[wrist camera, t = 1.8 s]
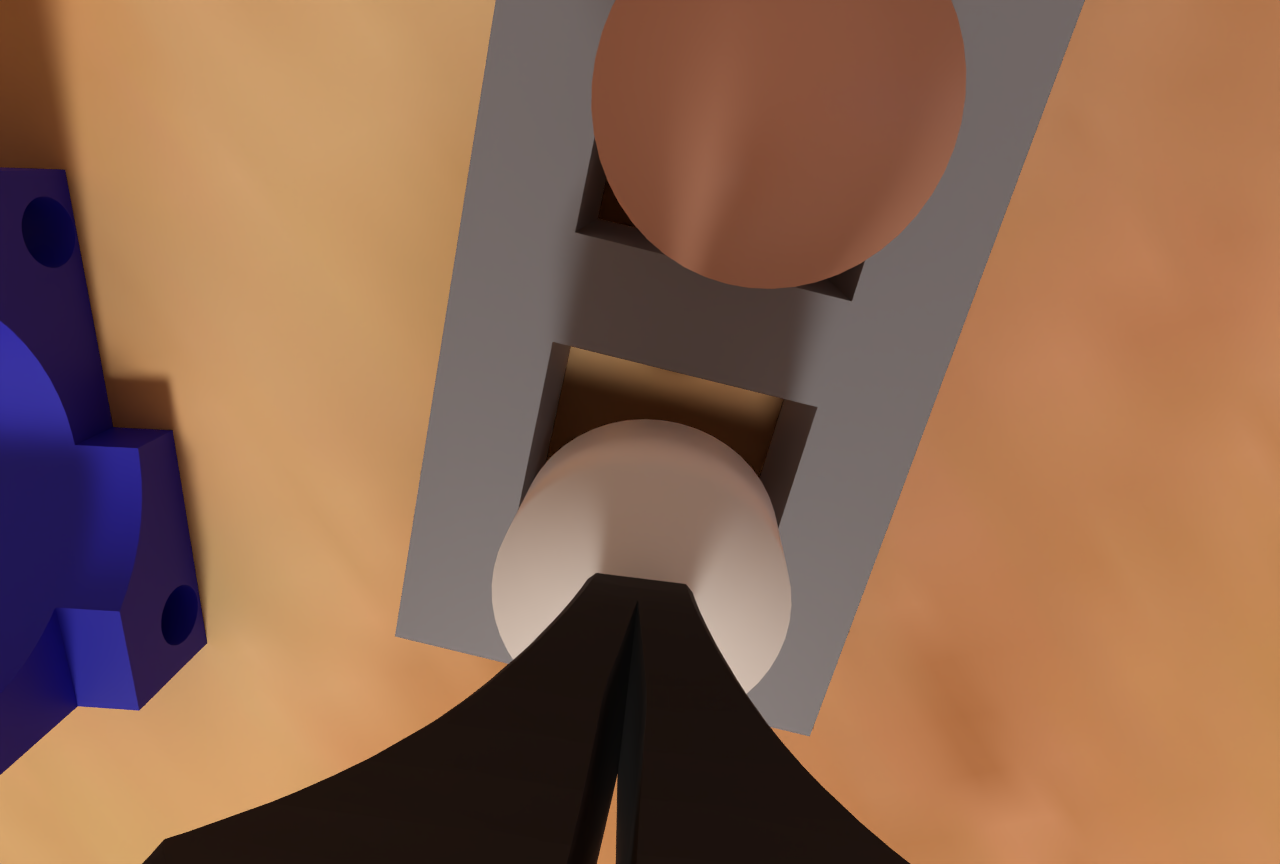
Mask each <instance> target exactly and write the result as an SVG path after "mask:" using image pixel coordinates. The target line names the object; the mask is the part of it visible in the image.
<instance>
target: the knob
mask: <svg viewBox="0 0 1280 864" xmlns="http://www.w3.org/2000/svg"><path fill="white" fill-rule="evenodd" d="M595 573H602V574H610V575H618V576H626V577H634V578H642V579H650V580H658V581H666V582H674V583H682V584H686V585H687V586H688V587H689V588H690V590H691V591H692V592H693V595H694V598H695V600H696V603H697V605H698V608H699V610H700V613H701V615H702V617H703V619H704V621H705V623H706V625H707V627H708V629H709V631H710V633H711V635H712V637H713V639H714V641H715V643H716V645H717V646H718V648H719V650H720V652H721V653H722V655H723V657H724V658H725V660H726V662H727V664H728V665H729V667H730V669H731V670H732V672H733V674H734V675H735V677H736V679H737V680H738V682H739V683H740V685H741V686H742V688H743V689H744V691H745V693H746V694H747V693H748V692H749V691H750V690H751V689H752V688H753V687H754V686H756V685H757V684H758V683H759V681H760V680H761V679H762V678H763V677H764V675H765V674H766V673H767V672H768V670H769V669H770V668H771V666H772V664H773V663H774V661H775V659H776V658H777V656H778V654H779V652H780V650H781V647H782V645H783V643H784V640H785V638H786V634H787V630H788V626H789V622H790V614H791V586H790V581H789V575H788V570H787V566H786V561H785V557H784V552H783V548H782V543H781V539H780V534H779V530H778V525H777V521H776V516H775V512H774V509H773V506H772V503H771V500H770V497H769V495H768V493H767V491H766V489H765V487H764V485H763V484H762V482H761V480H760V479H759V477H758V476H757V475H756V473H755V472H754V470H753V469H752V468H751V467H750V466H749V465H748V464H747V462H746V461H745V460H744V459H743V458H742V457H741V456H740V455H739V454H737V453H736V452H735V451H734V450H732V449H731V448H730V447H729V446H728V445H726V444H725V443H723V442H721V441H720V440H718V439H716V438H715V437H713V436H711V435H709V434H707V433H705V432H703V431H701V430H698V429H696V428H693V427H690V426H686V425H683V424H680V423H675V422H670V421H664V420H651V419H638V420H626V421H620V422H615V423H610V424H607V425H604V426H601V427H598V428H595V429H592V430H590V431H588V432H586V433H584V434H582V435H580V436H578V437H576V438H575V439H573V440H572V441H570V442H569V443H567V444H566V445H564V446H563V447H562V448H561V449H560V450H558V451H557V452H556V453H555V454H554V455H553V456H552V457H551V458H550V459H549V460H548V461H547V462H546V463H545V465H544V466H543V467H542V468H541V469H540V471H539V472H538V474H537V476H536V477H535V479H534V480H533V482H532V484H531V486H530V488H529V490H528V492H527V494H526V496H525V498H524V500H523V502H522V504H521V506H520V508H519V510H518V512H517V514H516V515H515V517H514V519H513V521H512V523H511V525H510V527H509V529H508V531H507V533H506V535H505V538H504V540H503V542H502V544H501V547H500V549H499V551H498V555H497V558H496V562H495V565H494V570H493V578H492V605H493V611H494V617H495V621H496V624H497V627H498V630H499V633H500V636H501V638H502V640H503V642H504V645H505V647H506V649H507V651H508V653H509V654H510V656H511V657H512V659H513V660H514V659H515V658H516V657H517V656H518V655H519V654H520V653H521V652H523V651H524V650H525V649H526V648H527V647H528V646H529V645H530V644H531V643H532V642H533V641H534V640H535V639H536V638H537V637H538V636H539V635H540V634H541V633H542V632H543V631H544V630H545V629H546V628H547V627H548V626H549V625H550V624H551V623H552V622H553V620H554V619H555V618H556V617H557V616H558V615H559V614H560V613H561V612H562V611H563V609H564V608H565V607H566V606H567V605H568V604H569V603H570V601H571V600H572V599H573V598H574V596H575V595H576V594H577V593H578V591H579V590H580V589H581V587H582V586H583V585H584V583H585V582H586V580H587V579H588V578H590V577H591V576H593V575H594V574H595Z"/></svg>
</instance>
